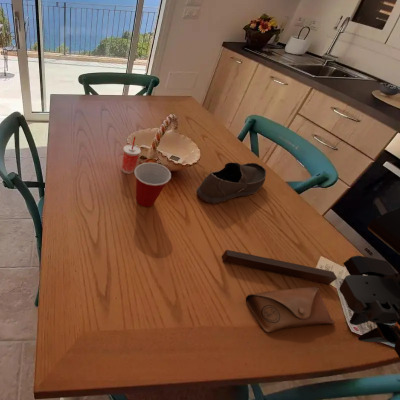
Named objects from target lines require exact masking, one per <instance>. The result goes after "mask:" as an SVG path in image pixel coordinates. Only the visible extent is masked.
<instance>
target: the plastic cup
mask: <svg viewBox="0 0 400 400" xmlns="http://www.w3.org/2000/svg"><path fill="white" fill-rule="evenodd" d="M133 174H134V176H135V181H136V183H135V184H136V185H135V193H136V195H135V202H136V203H137V204H138V205H139V206H141V207H143V208H144V207H145V208H150V207H152V206H153V205H154V204H155V202H156V201H157V199H158V198H159V196H160V194H161V193H162V191H163V189H164V188H165V186H166V184H167V183H168V182H169V181H170V180H171V178H172V173H171V171H170V170H169V168H167V167H166V166H164V164H160V163H157V162H149V161H148V162H143V163H141V164H138V165H137V166H135V169H134V172H133Z"/></svg>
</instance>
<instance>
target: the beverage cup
mask: <svg viewBox="0 0 400 400" xmlns="http://www.w3.org/2000/svg"><path fill="white" fill-rule="evenodd" d="M135 141H136V136H135V135H134V136H133V141H132V144H126V145H124V146H123V149H122V150H123V154H122V155H123V156H122V163H121V164H122V165H121V171H122V173H124V174H129V175H130V174H134V172H135V168H136V167H137V166H136V165H137V163H138V159H139V156H140V154H141V152H142V151H141V148H140V147H139V146H138V145H135Z"/></svg>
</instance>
